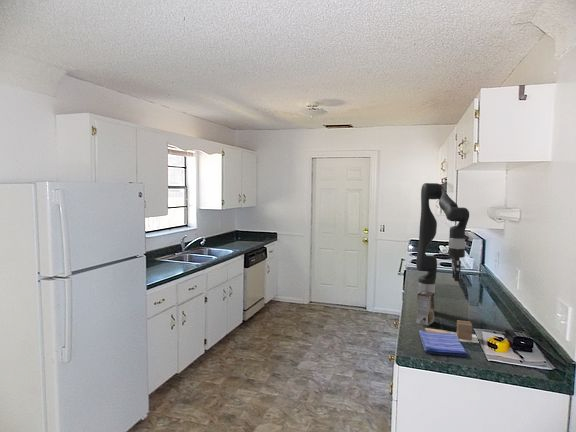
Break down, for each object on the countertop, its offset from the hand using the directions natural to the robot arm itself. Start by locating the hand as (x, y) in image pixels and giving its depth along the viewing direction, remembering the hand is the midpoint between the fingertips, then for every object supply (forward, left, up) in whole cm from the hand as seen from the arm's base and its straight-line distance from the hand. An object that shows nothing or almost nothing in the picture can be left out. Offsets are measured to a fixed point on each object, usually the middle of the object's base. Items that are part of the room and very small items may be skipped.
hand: (455, 279), depth 194 cm
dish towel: (+23, -7, -26) cm, 36 cm away
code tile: (+8, +4, -26) cm, 28 cm away
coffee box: (-9, -13, -26) cm, 31 cm away
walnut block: (+8, +4, -26) cm, 27 cm away
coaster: (+7, -8, -26) cm, 28 cm away
